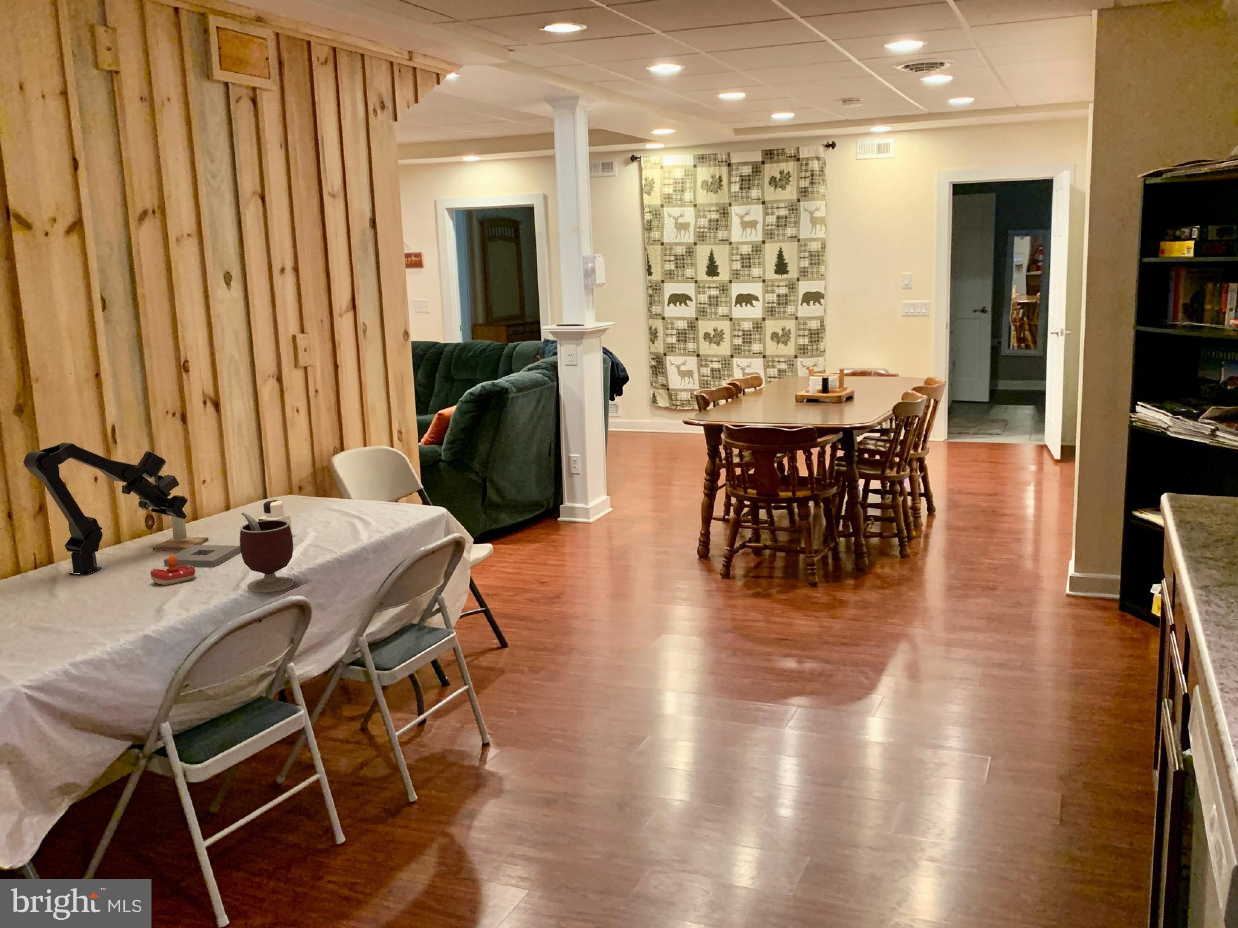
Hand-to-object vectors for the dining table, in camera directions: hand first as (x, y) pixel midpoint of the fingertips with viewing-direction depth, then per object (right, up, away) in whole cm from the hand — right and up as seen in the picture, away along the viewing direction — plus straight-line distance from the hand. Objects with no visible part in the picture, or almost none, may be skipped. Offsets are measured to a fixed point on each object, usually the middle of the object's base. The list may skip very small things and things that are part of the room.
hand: (181, 517), depth 340 cm
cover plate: (+13, -12, -15) cm, 23 cm away
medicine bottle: (+28, -7, +7) cm, 30 cm away
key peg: (-1, -7, 0) cm, 7 cm away
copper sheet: (-1, -9, +1) cm, 9 cm away
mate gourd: (+42, -17, -43) cm, 62 cm away
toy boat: (+13, -17, -36) cm, 42 cm away
